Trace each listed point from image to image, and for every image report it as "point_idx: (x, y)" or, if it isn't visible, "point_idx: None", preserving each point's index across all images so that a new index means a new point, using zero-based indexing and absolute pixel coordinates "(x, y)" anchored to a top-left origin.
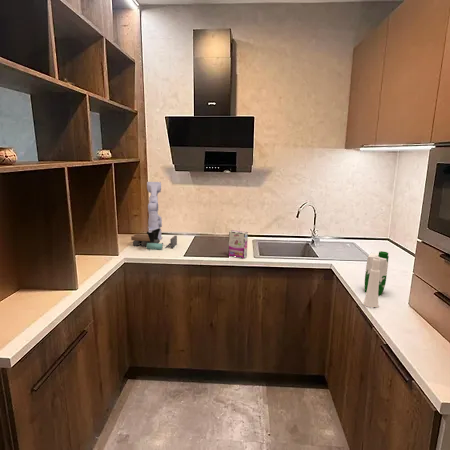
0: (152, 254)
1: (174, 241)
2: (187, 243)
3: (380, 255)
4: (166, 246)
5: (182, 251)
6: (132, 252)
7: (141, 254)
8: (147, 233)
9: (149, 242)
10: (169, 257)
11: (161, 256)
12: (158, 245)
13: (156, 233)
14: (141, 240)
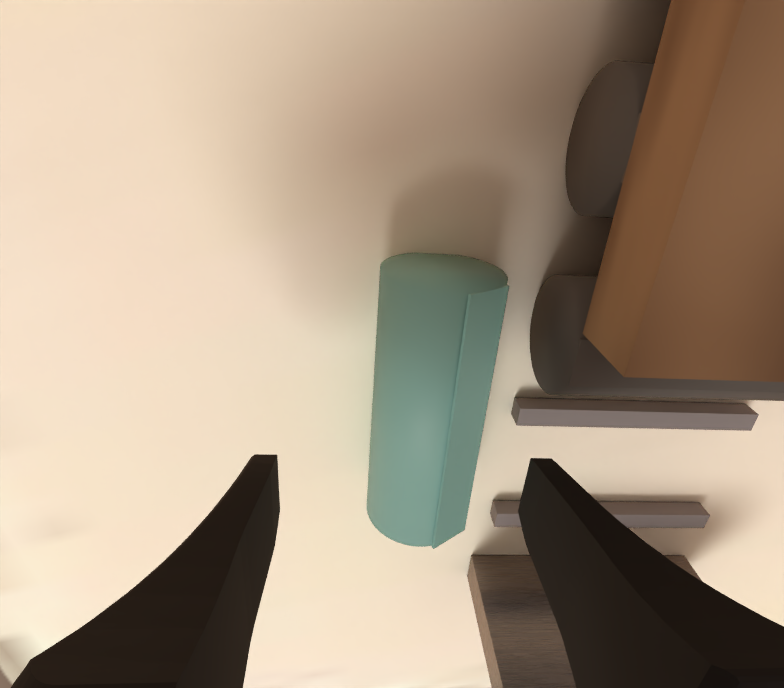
0: (104, 430)
1: None
2: None
3: None
4: (512, 520)
5: (353, 674)
6: (66, 18)
7: (21, 266)
8: (33, 675)
9: None
10: (69, 627)
11: (66, 551)
12: (379, 494)
13: (586, 642)
14: (657, 70)
